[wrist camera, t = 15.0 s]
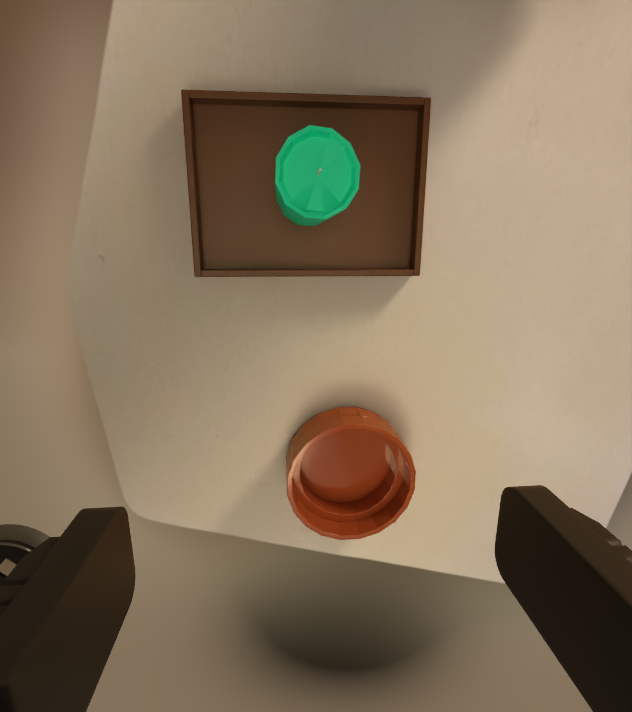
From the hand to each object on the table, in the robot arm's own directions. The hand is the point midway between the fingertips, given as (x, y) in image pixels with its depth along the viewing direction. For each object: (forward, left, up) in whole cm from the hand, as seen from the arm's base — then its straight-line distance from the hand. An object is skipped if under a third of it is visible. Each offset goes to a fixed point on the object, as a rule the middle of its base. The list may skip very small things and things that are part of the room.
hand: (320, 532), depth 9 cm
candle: (+2, +11, -34) cm, 35 cm away
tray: (+2, +11, -34) cm, 36 cm away
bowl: (+6, -17, -34) cm, 38 cm away
